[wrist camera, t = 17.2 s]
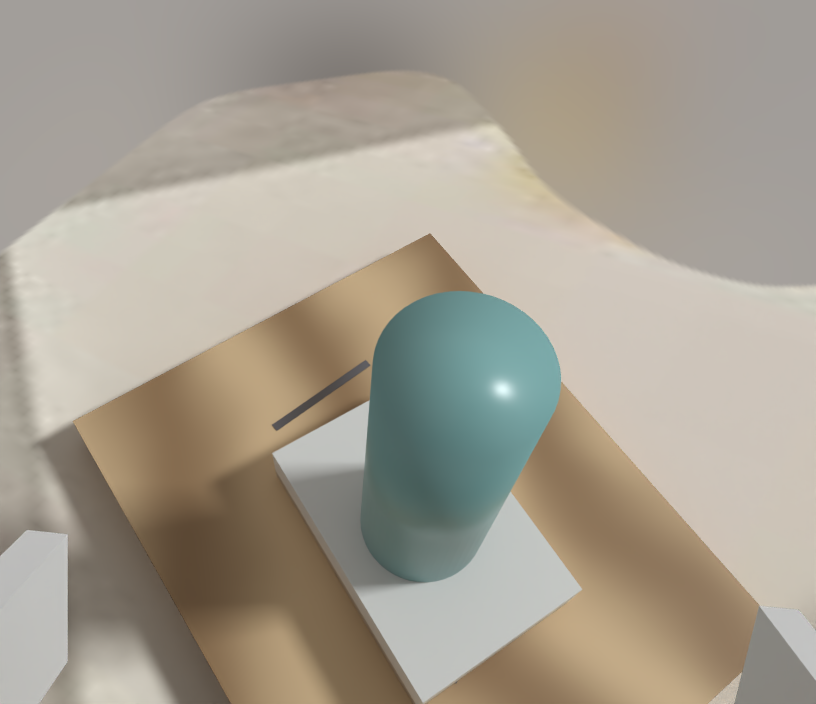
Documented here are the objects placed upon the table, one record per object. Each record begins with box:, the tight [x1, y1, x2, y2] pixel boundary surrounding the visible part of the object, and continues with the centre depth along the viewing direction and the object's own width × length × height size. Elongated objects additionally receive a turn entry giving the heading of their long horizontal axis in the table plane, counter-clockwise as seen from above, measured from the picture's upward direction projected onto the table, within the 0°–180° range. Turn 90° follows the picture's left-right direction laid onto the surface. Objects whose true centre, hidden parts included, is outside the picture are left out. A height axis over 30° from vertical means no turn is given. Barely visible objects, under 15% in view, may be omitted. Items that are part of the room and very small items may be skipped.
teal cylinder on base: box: [272, 291, 582, 704], centre depth 22 cm, size 6×9×12 cm, turn 33°
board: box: [73, 234, 760, 704], centre depth 28 cm, size 16×20×2 cm
